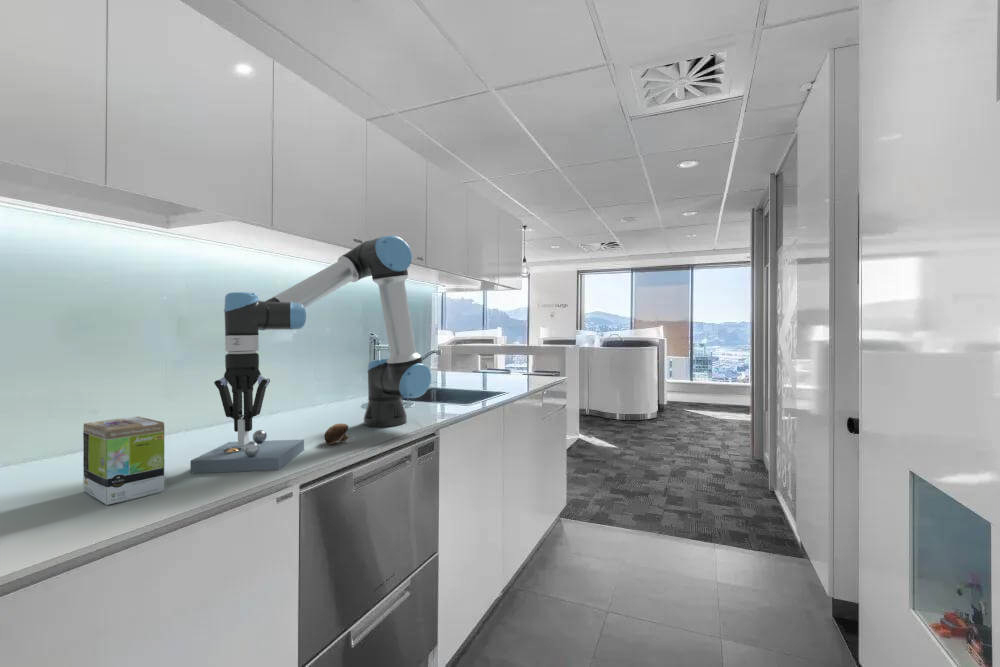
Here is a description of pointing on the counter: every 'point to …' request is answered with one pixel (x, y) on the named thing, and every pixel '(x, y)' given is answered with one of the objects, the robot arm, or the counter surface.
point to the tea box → (123, 459)
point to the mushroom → (336, 434)
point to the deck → (248, 457)
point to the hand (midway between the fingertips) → (243, 443)
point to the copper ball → (232, 450)
